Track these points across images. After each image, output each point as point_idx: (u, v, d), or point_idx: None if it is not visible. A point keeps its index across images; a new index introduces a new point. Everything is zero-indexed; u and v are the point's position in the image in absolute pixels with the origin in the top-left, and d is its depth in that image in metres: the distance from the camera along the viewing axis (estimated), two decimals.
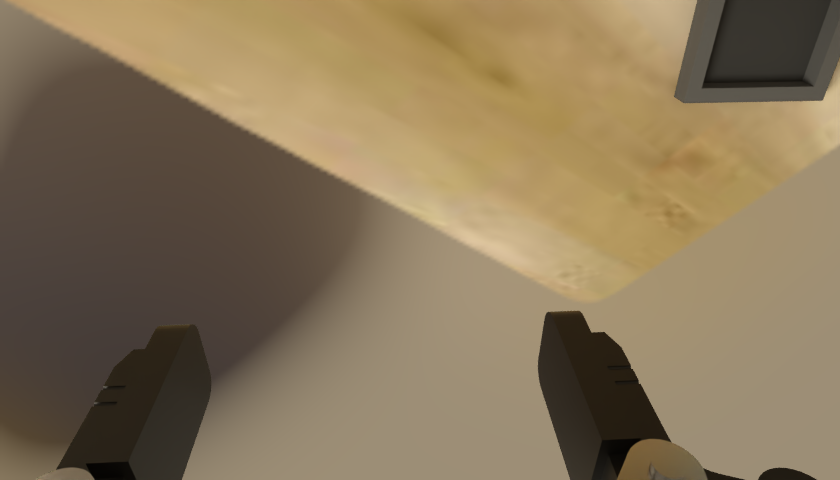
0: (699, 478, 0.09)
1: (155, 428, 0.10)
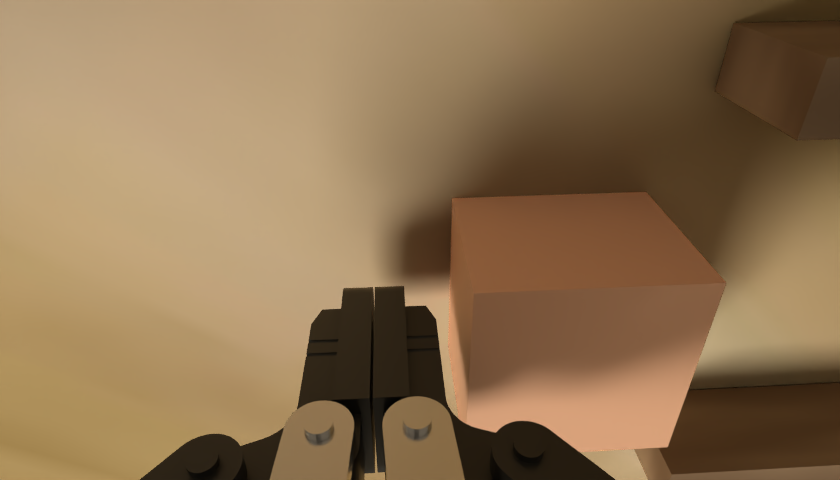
0: (444, 429, 0.09)
1: (371, 374, 0.11)
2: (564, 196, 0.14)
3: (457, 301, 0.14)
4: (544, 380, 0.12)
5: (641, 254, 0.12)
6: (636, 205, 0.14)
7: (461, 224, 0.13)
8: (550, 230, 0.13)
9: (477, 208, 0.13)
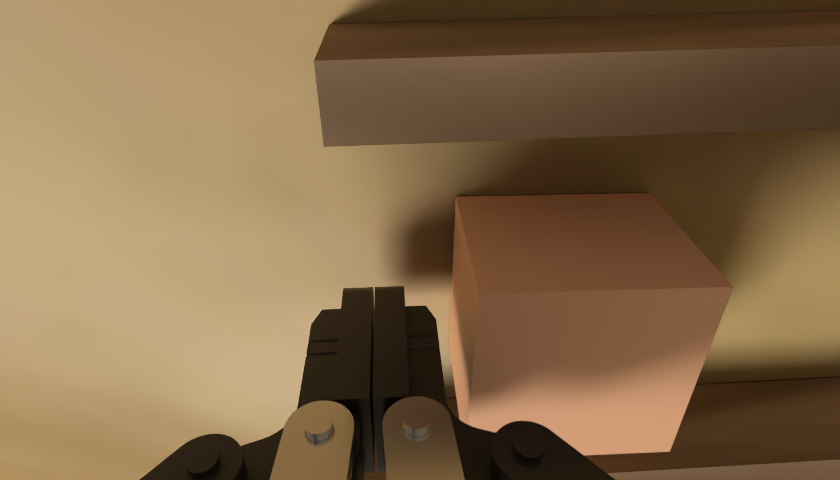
0: (444, 429, 0.09)
1: (371, 374, 0.11)
2: (569, 197, 0.14)
3: (460, 302, 0.13)
4: (547, 383, 0.12)
5: (646, 256, 0.12)
6: (642, 207, 0.13)
7: (465, 225, 0.13)
8: (554, 232, 0.12)
9: (481, 209, 0.13)
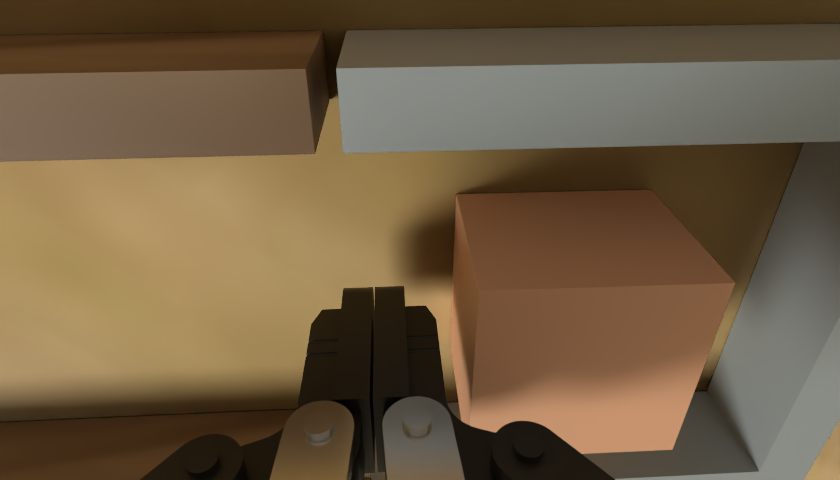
0: (444, 429, 0.09)
1: (371, 374, 0.11)
2: (570, 195, 0.14)
3: (461, 300, 0.13)
4: (548, 381, 0.12)
5: (648, 253, 0.12)
6: (643, 204, 0.13)
7: (465, 222, 0.13)
8: (555, 229, 0.12)
9: (482, 205, 0.13)
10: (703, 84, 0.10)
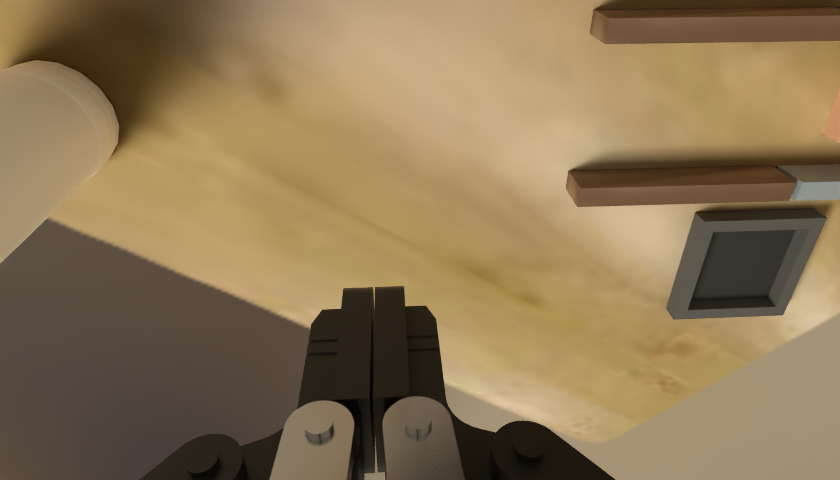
0: (444, 429, 0.09)
1: (371, 374, 0.11)
2: None
3: None
4: None
5: None
6: None
7: None
8: None
9: None
10: None
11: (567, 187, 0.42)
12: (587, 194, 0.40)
